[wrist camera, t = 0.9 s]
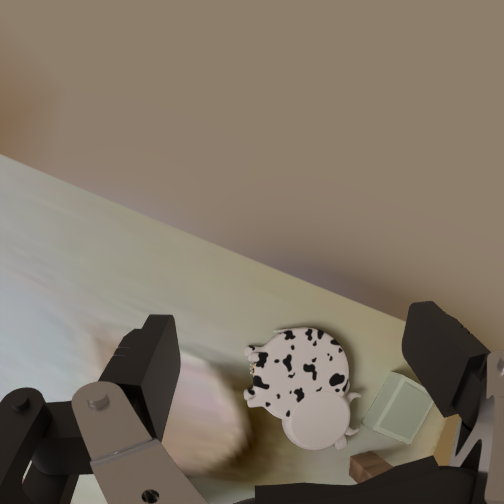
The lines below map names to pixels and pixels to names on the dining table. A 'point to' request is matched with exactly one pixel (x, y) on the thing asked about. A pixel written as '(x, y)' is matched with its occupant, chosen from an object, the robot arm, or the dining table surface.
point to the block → (367, 466)
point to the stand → (399, 408)
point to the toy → (304, 386)
